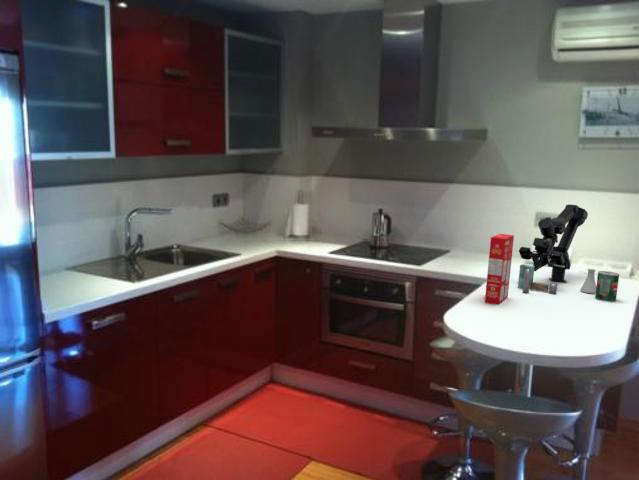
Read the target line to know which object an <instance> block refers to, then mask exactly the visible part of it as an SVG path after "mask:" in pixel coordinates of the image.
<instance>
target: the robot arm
mask: <svg viewBox="0 0 639 480" xmlns="http://www.w3.org/2000/svg"><path fill="white" fill-rule="evenodd" d="M588 215H589V212H588V211H587V210H586V209H585V208H582V207H580V206H579V205H577V204H566V205H565V207H564V209H563V210H562V211H561V212H560V213H559V214H558V215H557V217H554V218H551V217H549V216H546V217H545V218H542V219H541V220H540V221H538V224H537V225H538V229H539V232H540V235H541V236H542V238H541V237H534V239H533V242H532V245H533V246H534V247H533V248H534V250H532V251H531V248H530V247H525V246H521V247H519V250H518V252H519V255H520V258H521V259H522V260H527V261H529V260H531V259H532V262H533V263H532V266H535V267H534V272H537V271H538V270H540V269H541V268H543V267H545V266H546V265H547V266H548V268H549V267H551V274H550V275H551V277H548V279H549V280H550V281H551V282H555V283H556V282H557V283H567V281H566V279H565V276H566V270H567V271H569V270H571V265H572V263H571V260H570V255H569V252H568V251H569V249H570V247H571V244H572V243H573V241H574V240H573V239H574V237H575V235H576V233H577V230H578V228H580V227H581V226H582V225H583V224H585V221H586V220H588V217H589V216H588ZM558 235H561V237H560V239H559V241H558ZM556 244H558V245H557V246H556Z"/></svg>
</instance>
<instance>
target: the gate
mask: <svg viewBox="0 0 639 480" xmlns="http://www.w3.org/2000/svg"><path fill="white" fill-rule="evenodd" d="M534 267H535V266H533V265H531V264H524V263H522V264H520V265H519V272H518V274H519V275H518V281H517V282H518V283H517V289H518V288H519V289H523V284H524V274H525V269H531V276H530V286H529V291H530V290H531V291H539V292H544V293H549V286H550V284H547V283H541V282H540V283H539V282H534V274H535V271H534Z"/></svg>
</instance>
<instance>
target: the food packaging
mask: <svg viewBox="0 0 639 480" xmlns="http://www.w3.org/2000/svg"><path fill="white" fill-rule="evenodd" d="M514 238H515V235H513V234H504V233H499V234H496V235H494V236H492V237H490V242H489V243H490V244H489V245H490V246H489V253H488V254H489V255H488V265H487V275H486V285H485V295H484V296H485V297H484V303H487V304H491V305H492V304H493V305H500V304H502V303H503V302H504V301H505V300H507V299H508V297H509V289H510V278H511V267H512V259H513V249H514V248H513V247H514ZM506 298H507V299H506Z"/></svg>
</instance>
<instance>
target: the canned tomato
mask: <svg viewBox="0 0 639 480" xmlns="http://www.w3.org/2000/svg"><path fill="white" fill-rule="evenodd" d="M619 278H620V274H619V273H618V272H613V271H606V270H605V271H604V270H599V271H597V278H596V293H595V294H594V299H595V300H597V301H601V302H607V303H615V302H617V295H618V288H619V281H620V279H619Z"/></svg>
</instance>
